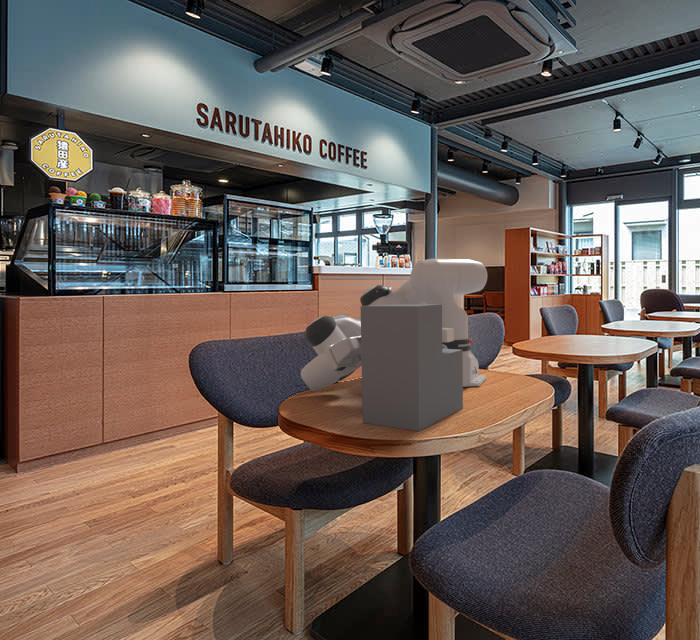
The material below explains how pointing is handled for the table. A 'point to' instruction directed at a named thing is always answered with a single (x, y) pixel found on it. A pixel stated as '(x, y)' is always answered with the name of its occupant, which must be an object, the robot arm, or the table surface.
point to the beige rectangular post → (447, 334)
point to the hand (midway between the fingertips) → (385, 331)
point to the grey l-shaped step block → (408, 367)
